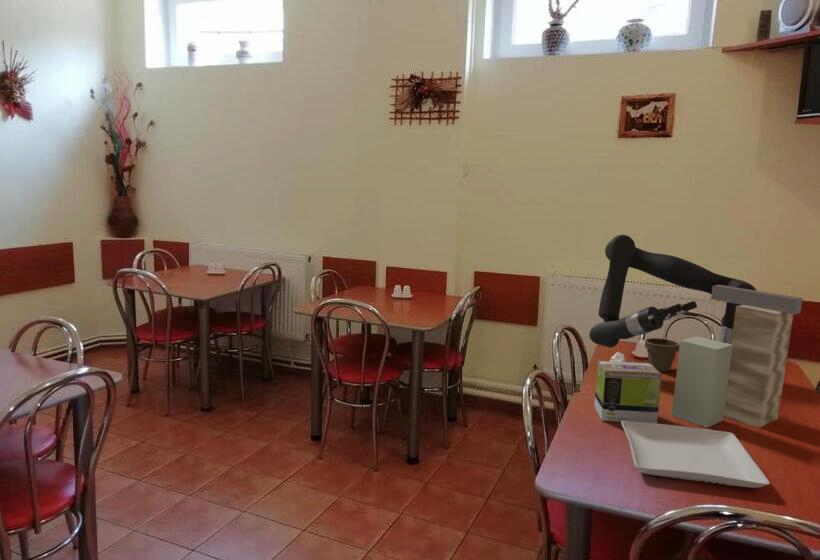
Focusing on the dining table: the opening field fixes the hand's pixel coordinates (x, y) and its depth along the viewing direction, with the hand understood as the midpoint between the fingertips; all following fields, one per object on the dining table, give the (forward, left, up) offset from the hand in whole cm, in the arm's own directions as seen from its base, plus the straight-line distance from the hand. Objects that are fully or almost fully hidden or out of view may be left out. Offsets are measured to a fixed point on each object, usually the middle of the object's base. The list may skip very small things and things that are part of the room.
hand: (688, 305), depth 180 cm
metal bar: (0, +18, +4) cm, 19 cm away
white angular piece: (+17, -10, -29) cm, 35 cm away
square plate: (+42, +25, -29) cm, 57 cm away
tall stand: (0, +21, -28) cm, 36 cm away
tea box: (+31, +1, -29) cm, 42 cm away
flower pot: (-19, -18, -29) cm, 39 cm away
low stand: (+14, +13, -28) cm, 34 cm away
